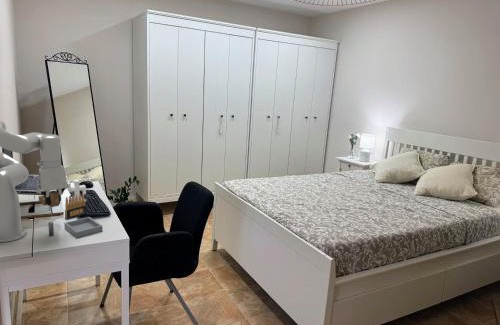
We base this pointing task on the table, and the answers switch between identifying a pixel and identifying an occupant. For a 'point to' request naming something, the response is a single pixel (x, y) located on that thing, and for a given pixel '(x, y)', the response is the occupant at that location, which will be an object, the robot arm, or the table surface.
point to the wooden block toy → (51, 198)
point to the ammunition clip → (74, 207)
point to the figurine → (77, 188)
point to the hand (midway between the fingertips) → (53, 203)
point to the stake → (51, 228)
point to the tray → (83, 227)
